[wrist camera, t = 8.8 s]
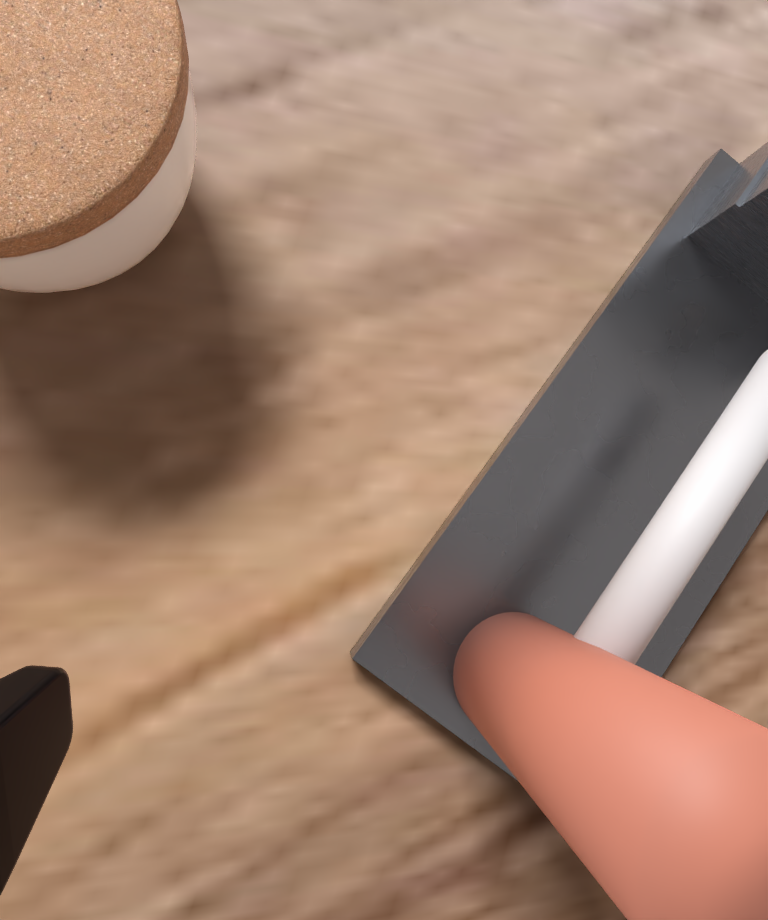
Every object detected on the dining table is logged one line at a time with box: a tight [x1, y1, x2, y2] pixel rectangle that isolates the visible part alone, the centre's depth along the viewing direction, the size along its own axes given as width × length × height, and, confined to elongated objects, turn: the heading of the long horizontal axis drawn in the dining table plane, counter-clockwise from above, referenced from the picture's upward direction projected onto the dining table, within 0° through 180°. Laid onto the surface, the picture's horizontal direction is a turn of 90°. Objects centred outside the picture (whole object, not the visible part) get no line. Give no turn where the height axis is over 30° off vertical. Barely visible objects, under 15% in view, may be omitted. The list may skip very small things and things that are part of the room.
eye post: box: [350, 142, 768, 781], centre depth 20 cm, size 25×10×10 cm, turn 143°
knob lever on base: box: [453, 350, 768, 920], centre depth 17 cm, size 16×4×12 cm, turn 143°
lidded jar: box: [0, 0, 197, 293], centre depth 18 cm, size 11×11×9 cm
